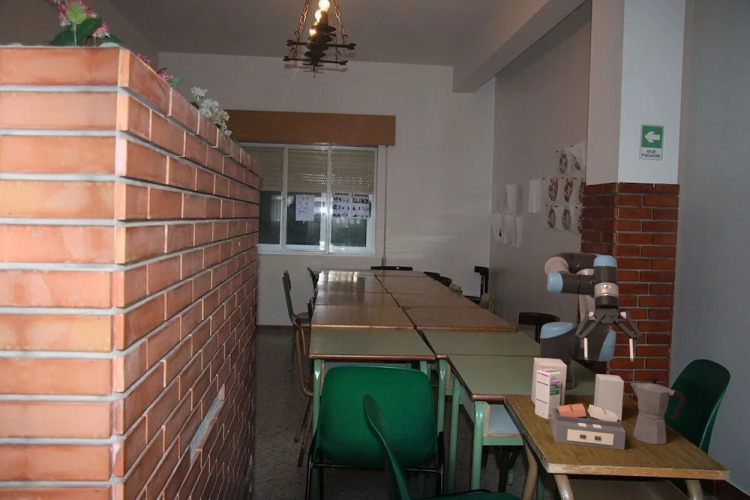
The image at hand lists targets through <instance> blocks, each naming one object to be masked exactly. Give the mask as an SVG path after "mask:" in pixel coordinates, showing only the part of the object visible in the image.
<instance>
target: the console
mask: <svg viewBox="0 0 750 500" xmlns="http://www.w3.org/2000/svg"><path fill="white" fill-rule="evenodd" d="M585 412H586V416H582V417H567V416H559V413H558V409H557V408H554V409H553V408H551V419H549V421H550V423H549V424H550V425H549V426H550V428H551V431H552V436H553V438H554V441H555V443H562V444H570V445H580V446H586V447H587V446H588V447H596V448H604V449H605V448H606V449H614V450H620V451H621V450H622V451H624V450H625V445H626V431H625V429H624V427H623V426H622V421H620V420H619V419H618V420H617V422H614V421H605V420H600V419H597V418H594V417H591V416H590V414H589V412H588V411H586V410H585Z"/></svg>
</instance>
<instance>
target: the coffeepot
mask: <svg viewBox="0 0 750 500" xmlns="http://www.w3.org/2000/svg"><path fill="white" fill-rule="evenodd" d="M657 382H658V378H657V377H655V376H653V377H651V382H643V383H642V382H631V383H630V384H629V385H630V386H631V388H632V389H633V391H634V393H635V394H636V397H637V406H638V407H637V408H638V414H637V418H636V422H635V426H634V429H633V435H632V436H633V438H634V439H635V440H637V441H639V442H642V443H646V444H648V445H656V446H657V445H664V444H667V443H668V442H667V432H666V421H665V414H666V413H667V409H668V404H669V400H670V398H677V399H678V400H679V401H678V402H677V405H676V408H675V410H674V412H673V413H674V414H673V415H668V418H669V419H670V420H673V421H677V420H679V417H680V415H681V413H682V411H683V409H684V407H685V405H686V404H687V398H686V397H685V395H684V394H683V393H682V392H681V391H679V390H674V389H671V388H669V387H667V386H664V385H661V384H658V383H657Z"/></svg>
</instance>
